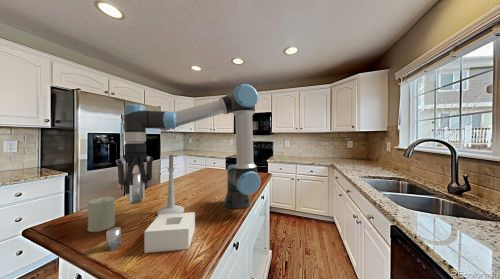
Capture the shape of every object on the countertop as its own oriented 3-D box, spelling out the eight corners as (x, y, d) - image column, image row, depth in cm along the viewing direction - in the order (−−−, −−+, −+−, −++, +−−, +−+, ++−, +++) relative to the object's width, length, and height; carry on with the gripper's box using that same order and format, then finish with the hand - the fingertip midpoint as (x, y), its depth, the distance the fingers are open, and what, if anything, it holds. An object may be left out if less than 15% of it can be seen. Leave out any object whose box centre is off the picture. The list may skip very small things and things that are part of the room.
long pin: (143, 200, 76) (143, 172, 76) (139, 203, 72) (138, 173, 72) (133, 200, 75) (133, 172, 75) (128, 204, 71) (128, 174, 71)
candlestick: (183, 215, 88) (184, 154, 88) (155, 218, 84) (155, 155, 84) (184, 206, 100) (184, 153, 100) (159, 209, 96) (159, 153, 96)
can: (92, 234, 70) (92, 204, 70) (83, 228, 75) (84, 199, 75) (119, 224, 78) (119, 197, 78) (110, 219, 83) (110, 194, 83)
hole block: (194, 228, 75) (194, 212, 75) (188, 249, 61) (188, 228, 61) (159, 231, 73) (159, 214, 73) (144, 252, 59) (144, 231, 59)
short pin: (123, 243, 64) (123, 226, 64) (116, 250, 60) (116, 232, 60) (110, 244, 64) (110, 227, 64) (103, 251, 60) (103, 233, 60)
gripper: (152, 142, 82) (153, 192, 82) (106, 143, 69) (107, 203, 69) (160, 142, 78) (161, 195, 78) (113, 143, 64) (114, 208, 64)
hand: (136, 199), depth 73 cm, fingers closed on long pin, 4 cm apart
